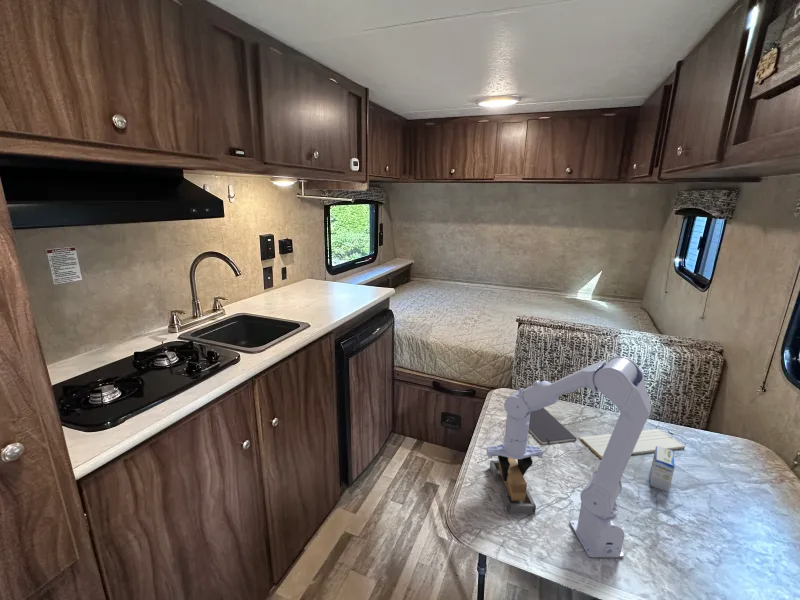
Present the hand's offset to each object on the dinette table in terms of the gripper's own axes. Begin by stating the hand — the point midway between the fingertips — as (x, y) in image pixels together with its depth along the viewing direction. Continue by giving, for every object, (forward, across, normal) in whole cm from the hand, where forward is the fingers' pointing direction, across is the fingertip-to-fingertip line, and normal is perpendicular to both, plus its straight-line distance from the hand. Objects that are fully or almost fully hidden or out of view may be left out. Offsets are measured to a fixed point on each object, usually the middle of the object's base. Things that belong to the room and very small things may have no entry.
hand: (511, 478), depth 99 cm
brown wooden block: (+2, 0, 0) cm, 2 cm away
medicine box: (+4, -44, -3) cm, 44 cm away
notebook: (+4, -21, -31) cm, 38 cm away
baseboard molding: (+4, -47, -21) cm, 51 cm away
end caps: (+3, 0, 0) cm, 3 cm away
